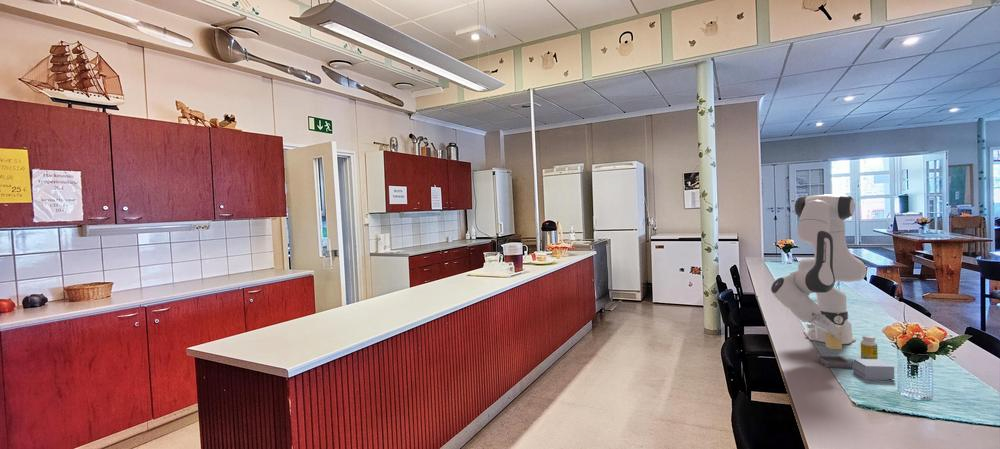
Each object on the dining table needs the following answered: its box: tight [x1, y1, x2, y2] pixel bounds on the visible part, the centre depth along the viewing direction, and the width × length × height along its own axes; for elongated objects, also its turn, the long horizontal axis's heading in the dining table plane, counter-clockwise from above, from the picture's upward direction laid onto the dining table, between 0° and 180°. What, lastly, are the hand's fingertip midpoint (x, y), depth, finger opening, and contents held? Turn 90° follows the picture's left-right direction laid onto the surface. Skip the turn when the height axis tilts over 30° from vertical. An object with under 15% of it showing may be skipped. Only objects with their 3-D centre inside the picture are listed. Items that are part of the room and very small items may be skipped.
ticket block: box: [853, 358, 895, 381], centre depth 168 cm, size 8×9×5 cm
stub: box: [824, 324, 843, 350], centre depth 181 cm, size 4×4×9 cm
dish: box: [816, 355, 853, 369], centre depth 182 cm, size 9×9×2 cm
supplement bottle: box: [860, 334, 879, 359], centre depth 185 cm, size 5×5×10 cm
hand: (835, 335), depth 181 cm, fingers closed on stub, 4 cm apart
